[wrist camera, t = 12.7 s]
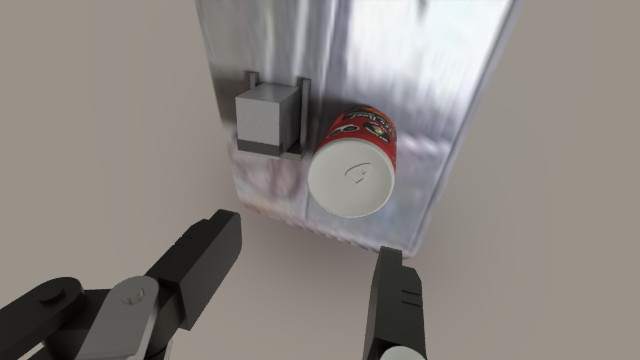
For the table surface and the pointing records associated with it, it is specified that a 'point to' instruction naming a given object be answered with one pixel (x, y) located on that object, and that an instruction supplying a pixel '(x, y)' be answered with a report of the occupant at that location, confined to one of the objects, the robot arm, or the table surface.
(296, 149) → the rail channel
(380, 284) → the robot arm
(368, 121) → the canned food
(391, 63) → the table surface
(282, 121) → the block
